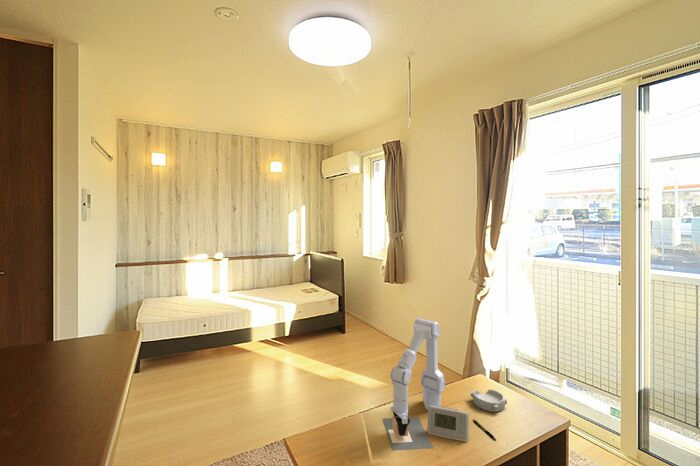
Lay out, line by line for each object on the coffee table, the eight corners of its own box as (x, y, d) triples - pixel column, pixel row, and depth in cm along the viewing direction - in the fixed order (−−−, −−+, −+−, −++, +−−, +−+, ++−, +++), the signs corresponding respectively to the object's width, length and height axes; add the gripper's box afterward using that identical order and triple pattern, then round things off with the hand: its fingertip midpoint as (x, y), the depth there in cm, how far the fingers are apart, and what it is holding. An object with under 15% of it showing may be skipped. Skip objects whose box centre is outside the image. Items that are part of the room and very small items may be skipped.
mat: (382, 420, 144) (382, 418, 144) (418, 418, 145) (418, 416, 145) (392, 452, 124) (392, 450, 124) (433, 450, 125) (433, 447, 125)
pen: (471, 422, 144) (470, 419, 144) (474, 420, 145) (474, 418, 145) (493, 442, 131) (493, 439, 131) (497, 440, 131) (496, 438, 131)
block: (392, 428, 135) (392, 416, 134) (404, 428, 135) (404, 416, 135) (395, 436, 130) (395, 424, 129) (407, 436, 130) (407, 423, 130)
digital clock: (425, 434, 135) (425, 409, 134) (431, 423, 142) (432, 399, 142) (466, 449, 126) (466, 422, 126) (471, 436, 134) (471, 410, 134)
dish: (466, 401, 160) (466, 391, 160) (487, 394, 166) (487, 385, 166) (490, 417, 147) (491, 406, 147) (512, 409, 153) (512, 399, 153)
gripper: (387, 388, 139) (386, 420, 139) (394, 407, 124) (394, 443, 125) (403, 387, 139) (403, 419, 140) (413, 407, 125) (412, 442, 125)
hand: (400, 430), depth 132 cm, fingers closed on block, 5 cm apart
